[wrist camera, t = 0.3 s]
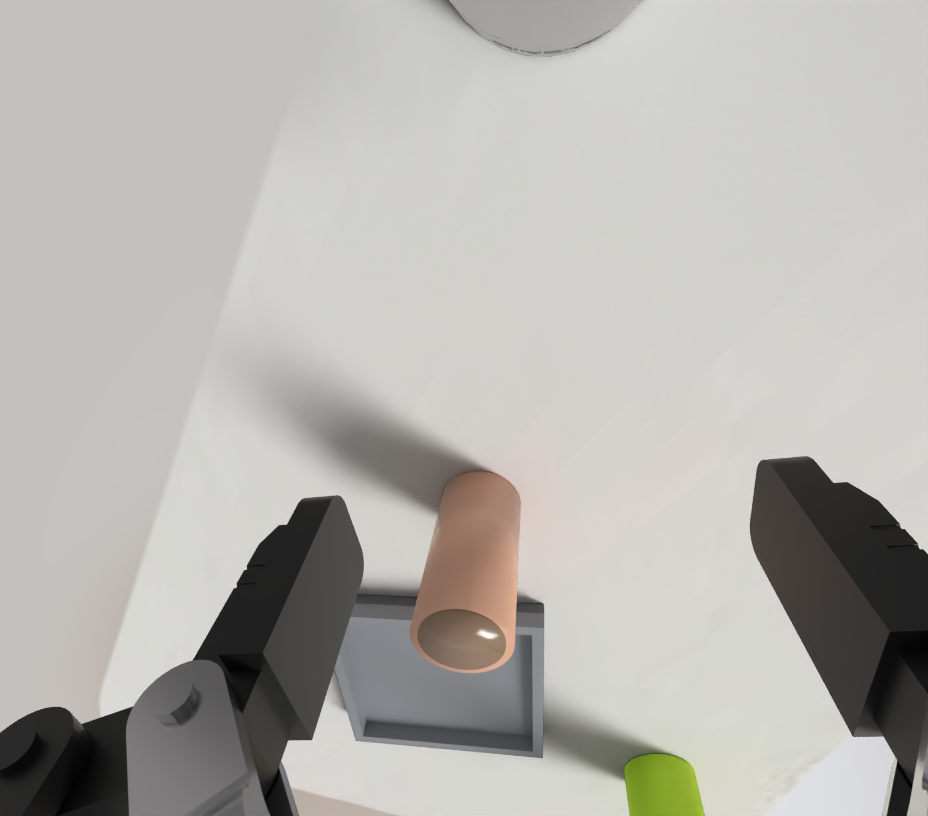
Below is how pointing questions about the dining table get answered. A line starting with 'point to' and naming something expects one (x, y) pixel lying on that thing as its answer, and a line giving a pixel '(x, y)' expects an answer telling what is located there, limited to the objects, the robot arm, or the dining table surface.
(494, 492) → the cup
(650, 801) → the soap dispenser
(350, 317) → the dining table surface
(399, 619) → the tray
